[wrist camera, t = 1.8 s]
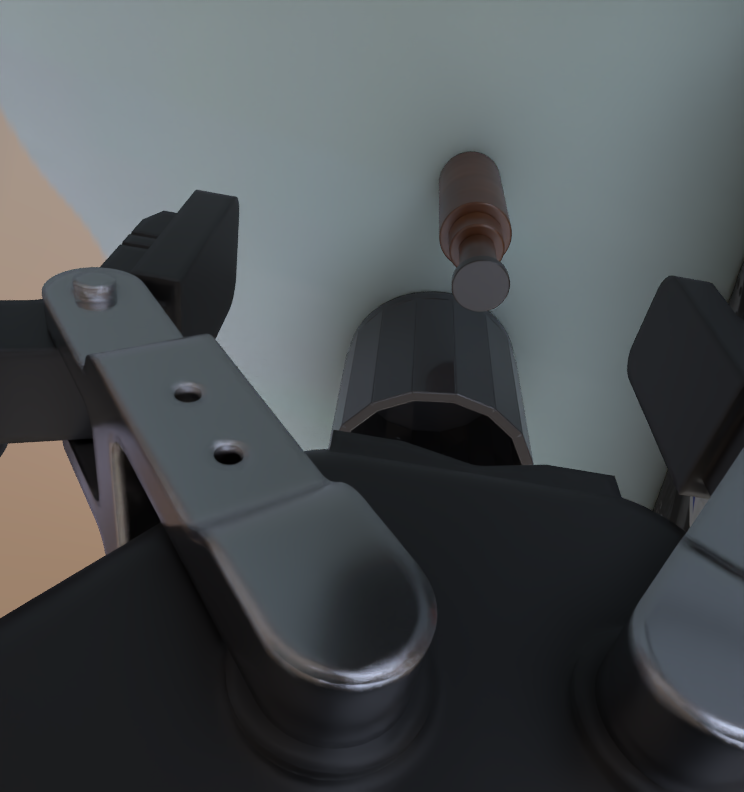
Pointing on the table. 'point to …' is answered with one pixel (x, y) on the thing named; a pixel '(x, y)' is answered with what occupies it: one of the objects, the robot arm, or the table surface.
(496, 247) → the bat
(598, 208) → the table surface
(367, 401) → the mug
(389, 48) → the table surface
